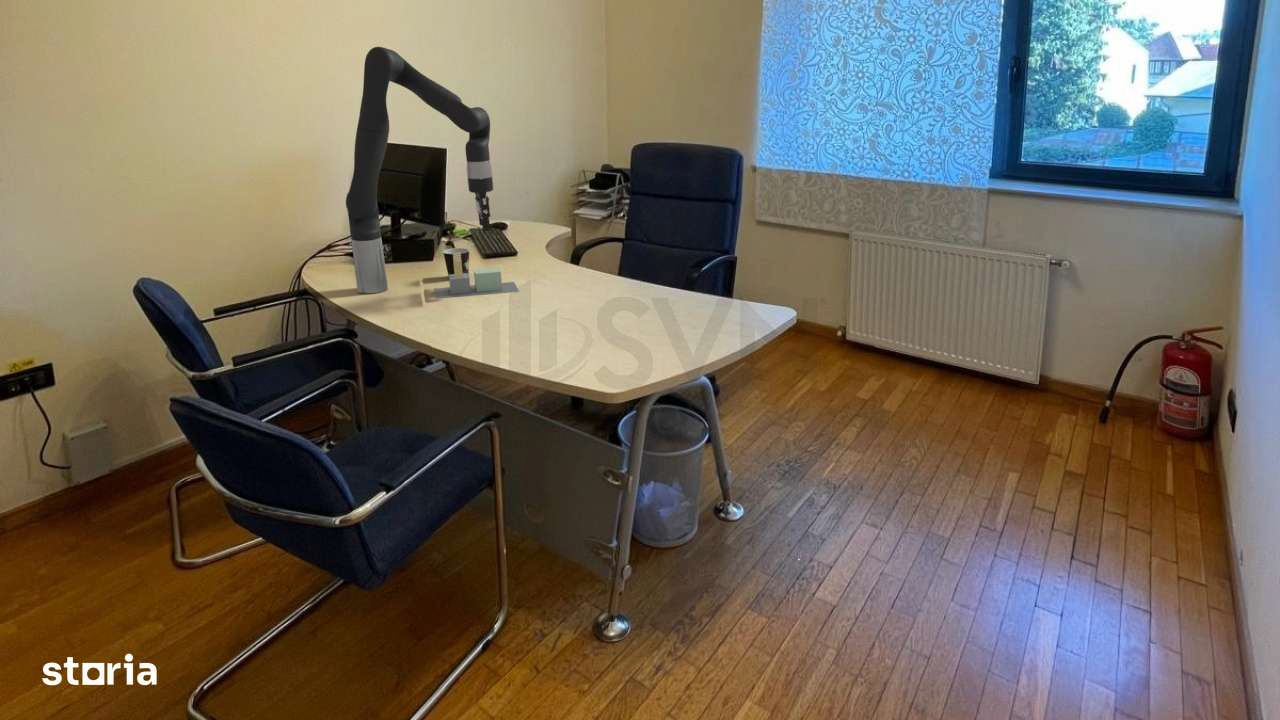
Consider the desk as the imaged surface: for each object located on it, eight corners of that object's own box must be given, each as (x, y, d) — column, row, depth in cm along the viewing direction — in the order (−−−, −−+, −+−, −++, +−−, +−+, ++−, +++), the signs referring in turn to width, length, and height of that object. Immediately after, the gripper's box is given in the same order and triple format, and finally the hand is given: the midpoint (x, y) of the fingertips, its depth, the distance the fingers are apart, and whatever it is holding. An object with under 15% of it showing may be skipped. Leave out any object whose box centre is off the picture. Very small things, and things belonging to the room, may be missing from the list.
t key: (454, 270, 260) (452, 252, 258) (462, 269, 261) (460, 251, 258) (455, 281, 247) (453, 262, 245) (463, 281, 248) (461, 261, 246)
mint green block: (476, 292, 255) (475, 273, 253) (475, 287, 259) (473, 269, 257) (502, 289, 257) (500, 271, 255) (500, 285, 261) (498, 267, 259)
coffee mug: (457, 284, 267) (454, 255, 263) (440, 280, 272) (437, 251, 268) (483, 277, 276) (481, 248, 272) (466, 273, 281) (464, 245, 277)
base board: (435, 301, 249) (433, 283, 247) (434, 291, 260) (432, 273, 257) (519, 294, 255) (518, 276, 253) (514, 284, 266) (513, 267, 264)
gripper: (465, 173, 251) (470, 224, 257) (469, 179, 239) (475, 233, 245) (489, 171, 253) (493, 222, 259) (495, 178, 241) (499, 231, 247)
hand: (484, 227), depth 252 cm, fingers open, 8 cm apart
